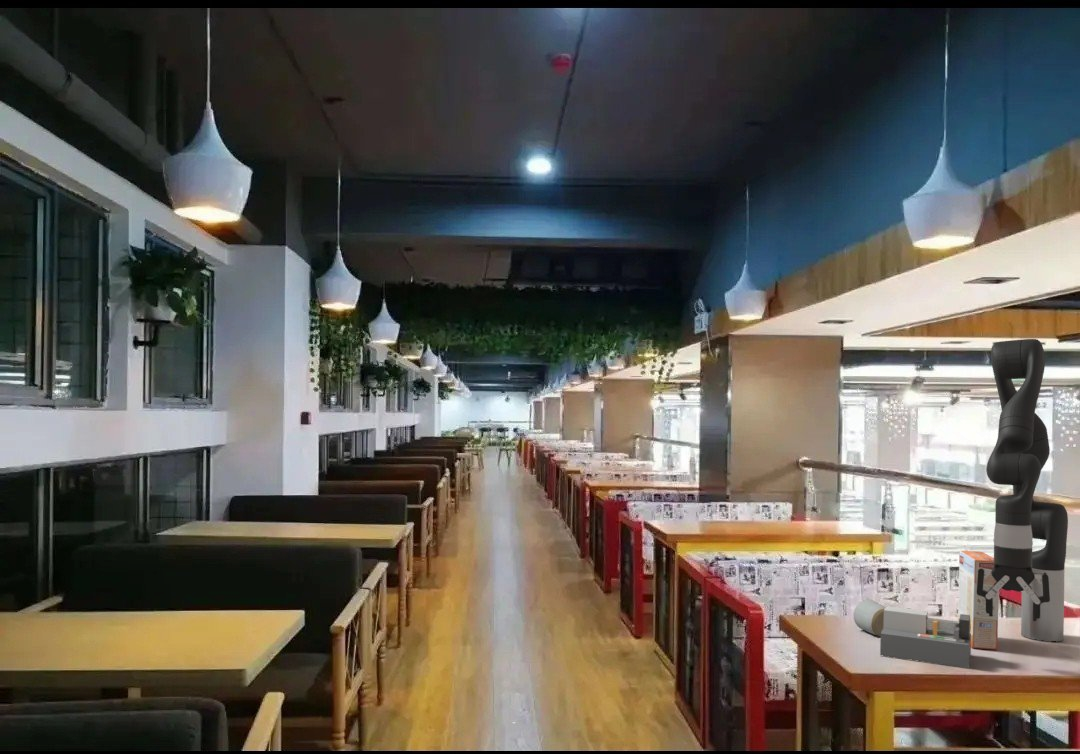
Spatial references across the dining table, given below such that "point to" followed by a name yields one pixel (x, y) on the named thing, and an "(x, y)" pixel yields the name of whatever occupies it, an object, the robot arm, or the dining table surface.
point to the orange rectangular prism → (934, 628)
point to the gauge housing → (921, 639)
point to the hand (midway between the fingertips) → (1012, 618)
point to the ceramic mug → (869, 616)
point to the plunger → (952, 626)
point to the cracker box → (977, 599)
